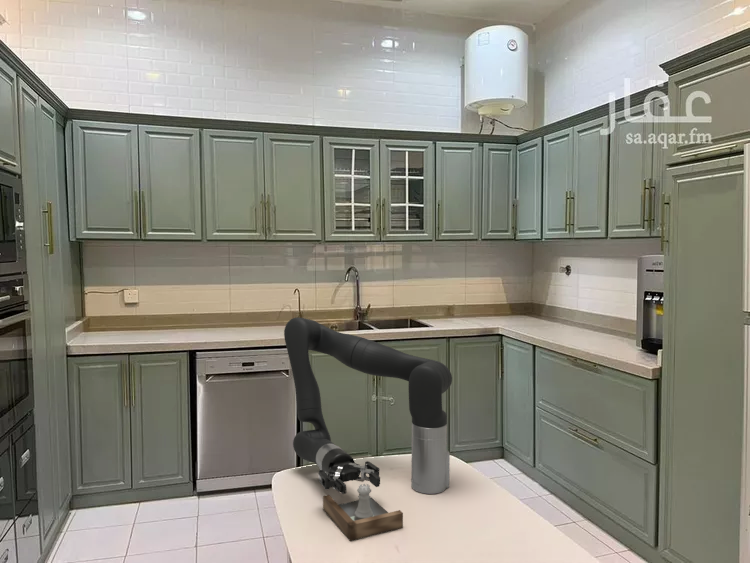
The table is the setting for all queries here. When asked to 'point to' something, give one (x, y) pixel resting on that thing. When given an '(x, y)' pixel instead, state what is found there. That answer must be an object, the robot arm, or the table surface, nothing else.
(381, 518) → the corner arena
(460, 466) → the table surface
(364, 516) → the rook chess piece
